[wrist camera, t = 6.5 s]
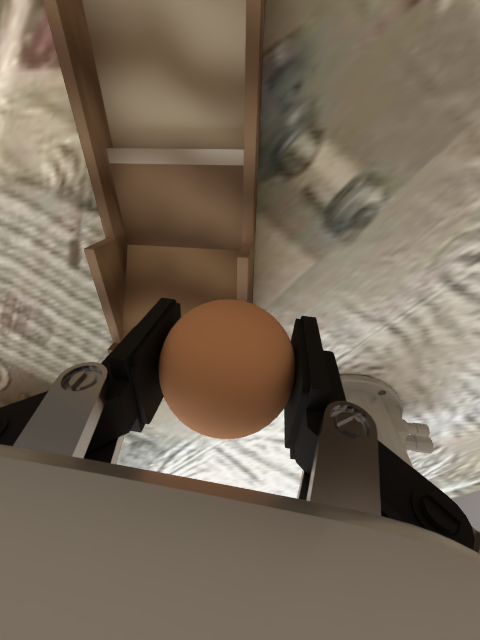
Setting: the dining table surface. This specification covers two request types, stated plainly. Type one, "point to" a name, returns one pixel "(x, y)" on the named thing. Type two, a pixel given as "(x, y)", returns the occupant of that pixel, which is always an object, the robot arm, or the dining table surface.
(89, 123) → the lane
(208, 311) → the ball
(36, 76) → the dining table surface
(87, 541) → the robot arm
